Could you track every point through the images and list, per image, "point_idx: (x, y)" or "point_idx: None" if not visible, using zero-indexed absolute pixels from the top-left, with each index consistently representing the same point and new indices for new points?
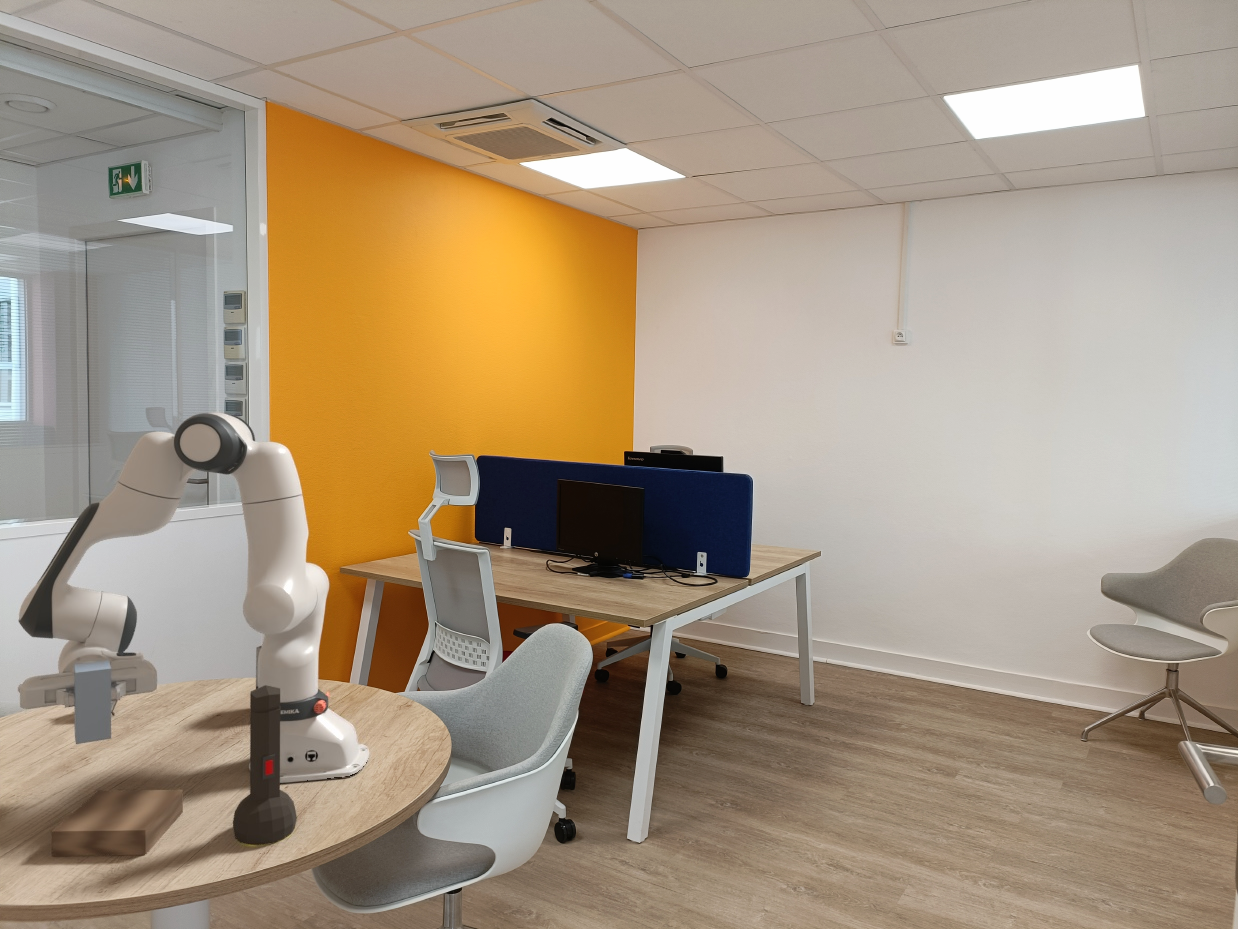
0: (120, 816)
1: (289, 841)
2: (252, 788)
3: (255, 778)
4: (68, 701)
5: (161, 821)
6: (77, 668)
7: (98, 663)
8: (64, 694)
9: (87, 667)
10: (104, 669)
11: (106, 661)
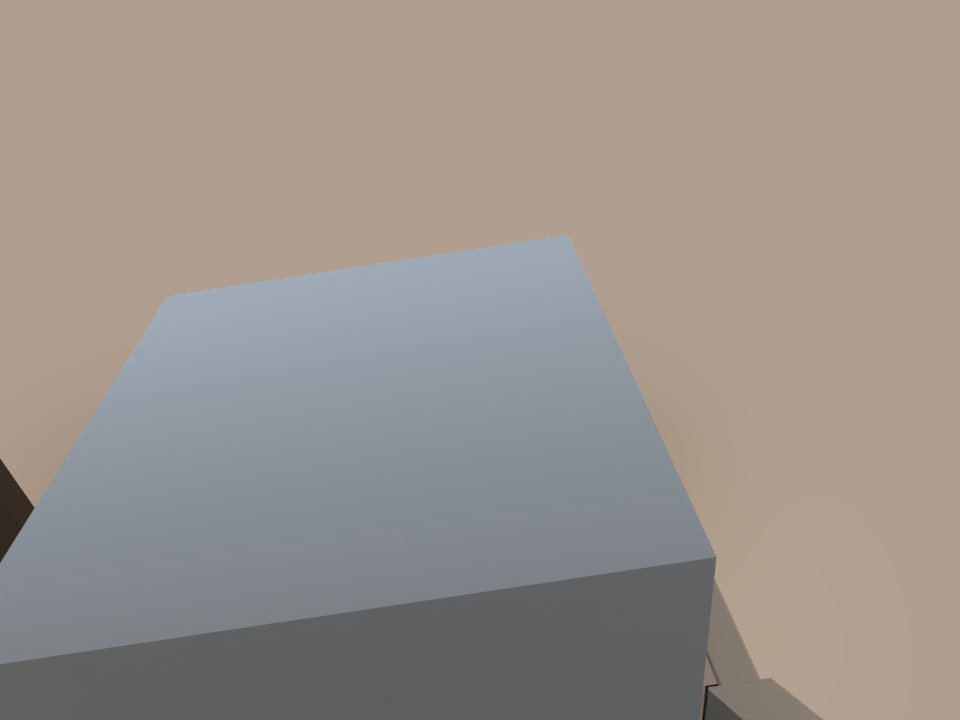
0: None
1: None
2: (26, 517)
3: (9, 473)
4: None
5: None
6: (576, 339)
7: (224, 493)
8: (763, 680)
9: (430, 354)
10: (243, 288)
11: (34, 583)
